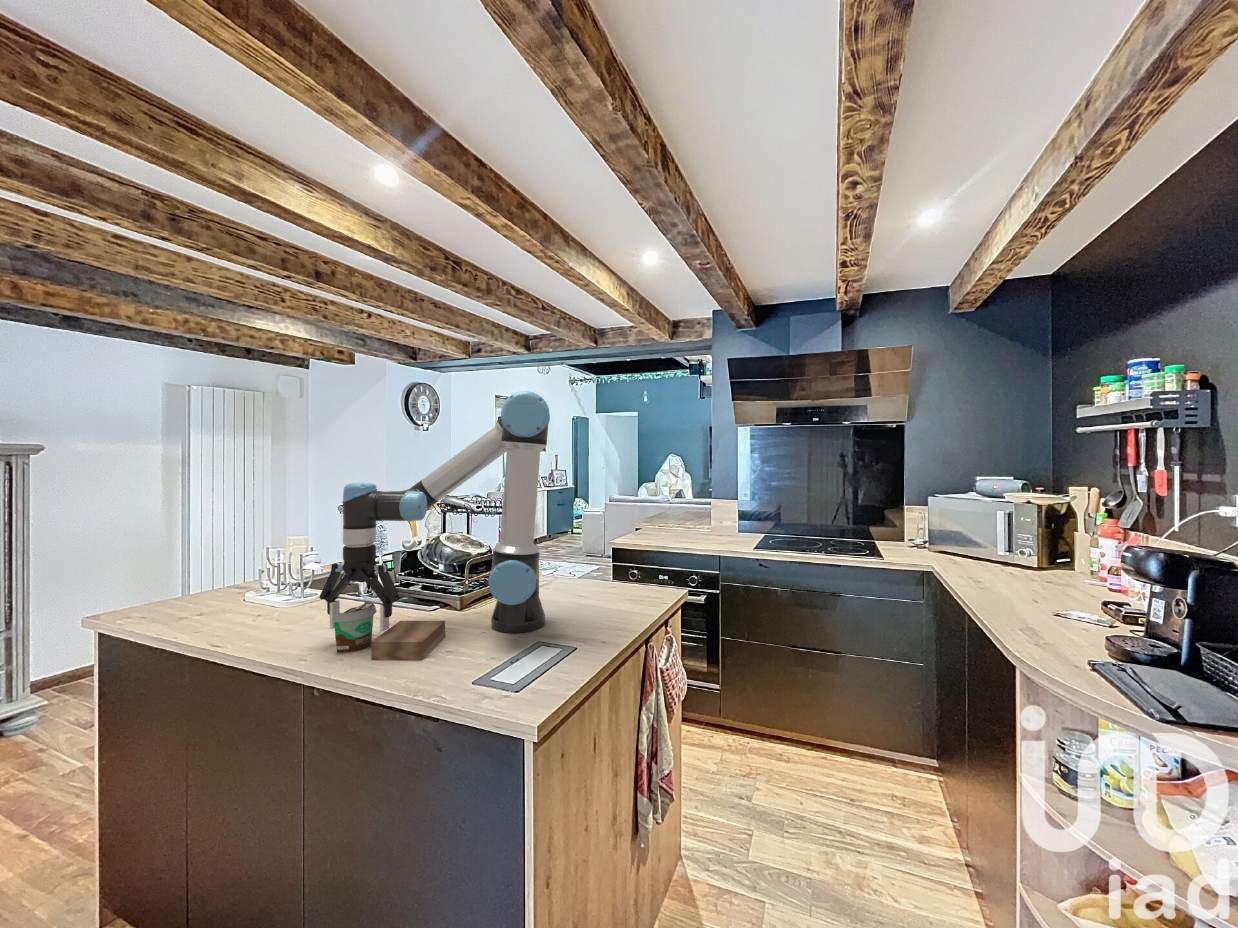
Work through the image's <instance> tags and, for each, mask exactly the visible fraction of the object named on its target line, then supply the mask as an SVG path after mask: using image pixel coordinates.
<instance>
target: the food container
mask: <svg viewBox="0 0 1238 928" xmlns="http://www.w3.org/2000/svg"><path fill="white" fill-rule="evenodd" d="M375 614H377V609H376V605H375V603H374V602H373V601H371V600H364V602H363V604H361V605H359V606H356V607H352V608H349V609H347V610H345V611H344V612H340V613H334V614H333V618H332V622H334V627H335V628H334V635H335V648H336V649H335V650H336V653H340V654H342V653H350V652H351V653H353V652H357V651H362V650H364V649H367V648H368V647H371V642H372V641H373V640H372V636H373V628H374V627H373V626H374V625H373V624H374V615H375Z"/></svg>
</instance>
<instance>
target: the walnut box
mask: <svg viewBox="0 0 1238 928" xmlns="http://www.w3.org/2000/svg"><path fill="white" fill-rule="evenodd" d="M445 638H446V620H400V621H398V622H396V623H395V624H393V625H392V626H390V627H389V629H387V630H385V631H383V632H382V633H381V634H380V635H379V636H377V637H376V638H374V639H373V640H371V645H370V647H371V649H370V650H371V653H370V654H371V656H370V657H371V661H423V660H424V659H425V658H426V657H427V656H428V655H429V654H430V653H431V652H432V651H433V650H434V649H435V648H436V647H437V646H438V645H439V644H440V643H441V642H442V641H443V640H444V639H445Z"/></svg>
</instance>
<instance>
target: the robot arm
mask: <svg viewBox="0 0 1238 928" xmlns="http://www.w3.org/2000/svg"><path fill="white" fill-rule="evenodd" d="M550 418H551V417H550V408H549V405H548V404H547V402H546V400H545V399H544V398H543V396H541V395H540V394H538V393H535V392H532V391H530V390H529V391H528V390H523V391H522V390H521V391H518V392H517V391H516V392H515V393H512V394H511V395H510V396H508V397H507V398H506V399H505V401H504V402H503V404H502V407H501V410H500V418H498V419H497V420H496V421H495V426H494V427H493V428H491V429H490V430H489V431H487V432H485V433H484V434H483V435H481V436H480V437H478V438H477V439H476V440H475V441H473V442H472V443H471V444H469V445H468V446H466V447H465V448H464V449H462V450H460V451H459V452H458V453H457V454H455V455H454V456H453V457H451V458H450V459H449V460H447V461H446V462H444V463H443V464H441V465H440V466H439V467H438V468H436V469H434V470H433V471H432V472H431V473H429V474H428V475H427V476H425V477H423V478H422V479H421V480H420V481H418V482H416V483H415V484H414V485H412V486H411V487H410V488H407V489H403V490H399V491H398V490H397V491H396V490H395V491H392V490H391V491H382V490H381V491H380V490H378V489H377V484H375V483H372V482H370V483H369V482H361V483H360V482H358V483H357V482H356V483H355V482H353V483H347V484H346V485H345V486H344V487H343V495H342V496H343V497H342V498H343V499H342V524H343V525H342V544H343V545H344V546H343V547H342V560H343V563H342V562H341V561H337V562H334V563H332V564H331V567H330V569H331V570H330V574H329V576H328V578H327V580H326V582H325V584H324V586H323V588H322V591H321V593H320V595H319V599H320V600H323V601H326V604H327V607H326V612H327V615H329V629H330V630H333V629H335V627H334V622H332V618H333V614H334V613H341V612H340V611H341V610H340V609H341V607H340V606H341V605H340V604H341V603H340V600H339V596H340V595H342V593H343V592H344V590H345V589H346V588H347V586H348V585H349V584H350V583H357V582H358V583H365V584H366V585H368V586H369V587H370V588H371V589H372V591H373V592H374V593H375V595H376V596H377V597H378V599H379V600H380V601H381V603H382V604H380V605H379V608H380V609H379V613H380V614H379V631H380V632H382V633H384V632H385V631H387V630H388V629H390V617H391V616H392V615H393V604H394V603H396V602H397V601H399V600H400V599H401V597H400V594H399V592H398V590H397V588H396V586H395V584H394V581H393V580H392V577H391V575H390V573H389V565H388V563H382V564H378V565H377V564H376V558H377V545H376V544H375V543H376V542H377V522H383V521H384V522H388V521H389V522H391V521H392V522H409V523H410V522H413V521H415V522H416V521H417V522H418V521H422V520H423V519H424V518H425V517H426V514H427V512H428V511H429V510H430V509H431V507H433V506H434V505H436V504H437V503H438V502H440V501H441V500H442V499H443V498H445V497H446V496H447V495H449V494H450V493H452V492H453V491H454V490H456V489H458V488H459V487H460V486H462V484H464V483H466V482H467V481H468V480H469V479H471V478H472V477H474V476H475V475H477V474H478V473H479V472H480V471H483V470H484V469H485V468H486V467H487V466H489V465H491V463H493V462H494V461H495V460H497V459H499V458H500V457H501V456H503V455H504V454H505V453H506V456H505V468H504V470H505V471H504V484H503V496H502V498H503V499H502V508H501V510H502V511H501V519H500V520H501V521H500V522H501V523H500V535H499V536H500V537H499V538H500V539H499V542H498V543H497V544H496V545H495V546H494V547H493V549H492V560H491V561H492V563H491V571H490V573H489V576H488V579H487V580H488V589H489V592H490V593H491V595H492V596H493V598H494V599H496V602H495V605H494V609H493V612H492V615H491V620H490V621H491V624H490V626H491V628H492V629H493V630H495V631H498V632H502V633H510V634H511V633H514V634H515V633H525V632H532V631H536V630H539V629H541V628H542V627H544V626H545V624H546V614H545V611H544V608H543V604H542V601H541V597H540V555H541V554H540V550H539V549H540V548H539V546H538V545H537V544H535V543H534V539H535V529H536V528H535V526H536V512H537V503H538V502H537V500H538V499H537V498H538V488H539V486H538V485H539V475H540V472H539V471H540V460H541V453H542V451H543V450H544V449H545V448H547V445H548V444H547V443H548V433H549V423H550V420H551V419H550ZM342 572H343V573H345V574H344V575H343V576H342V578H340V576H341V573H342ZM375 572H376V573H375ZM376 574H378V576H377V575H376ZM339 579H340V581H339V583H337V582H338V580H339ZM380 581H381V582H380Z"/></svg>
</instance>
